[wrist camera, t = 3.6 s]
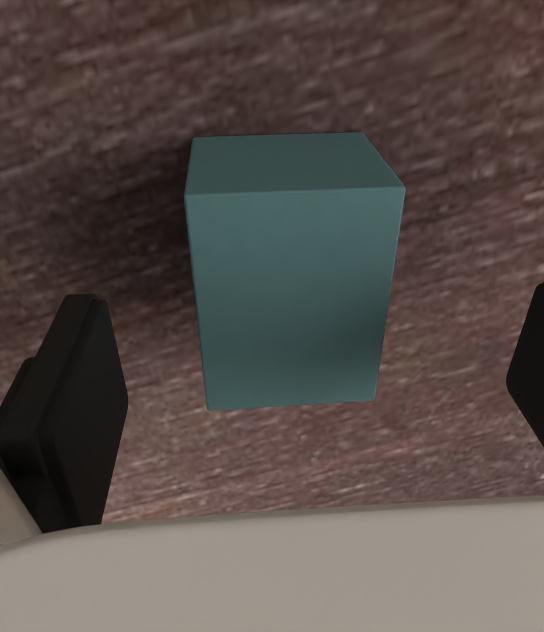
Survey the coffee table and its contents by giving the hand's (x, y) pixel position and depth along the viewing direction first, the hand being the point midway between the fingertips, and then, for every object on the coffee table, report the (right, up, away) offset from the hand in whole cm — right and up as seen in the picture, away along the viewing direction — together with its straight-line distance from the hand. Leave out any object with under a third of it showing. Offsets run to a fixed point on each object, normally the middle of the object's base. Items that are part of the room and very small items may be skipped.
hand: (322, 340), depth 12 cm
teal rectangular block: (-1, +3, +4) cm, 5 cm away
